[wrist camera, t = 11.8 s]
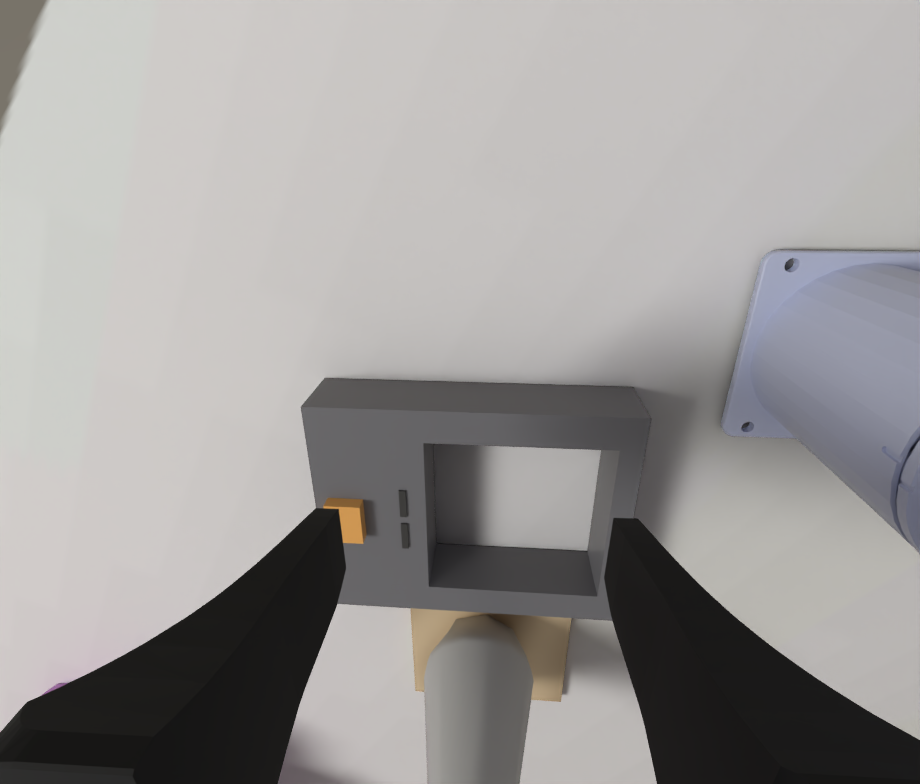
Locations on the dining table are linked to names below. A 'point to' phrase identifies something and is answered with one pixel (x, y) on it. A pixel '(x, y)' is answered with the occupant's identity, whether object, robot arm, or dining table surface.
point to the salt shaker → (477, 704)
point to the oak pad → (534, 633)
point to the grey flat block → (413, 489)
